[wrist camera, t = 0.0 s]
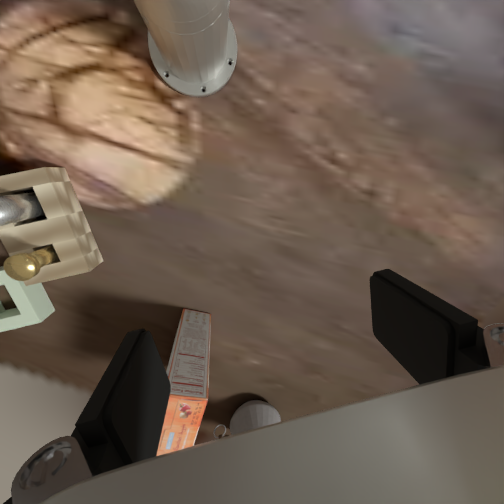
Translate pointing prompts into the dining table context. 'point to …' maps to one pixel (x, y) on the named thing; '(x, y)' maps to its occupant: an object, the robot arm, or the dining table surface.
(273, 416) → the coffee pot
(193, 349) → the cracker box
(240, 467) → the robot arm
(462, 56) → the dining table surface
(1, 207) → the steel rod
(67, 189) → the socket block
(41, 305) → the block
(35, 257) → the brass knobbed peg
